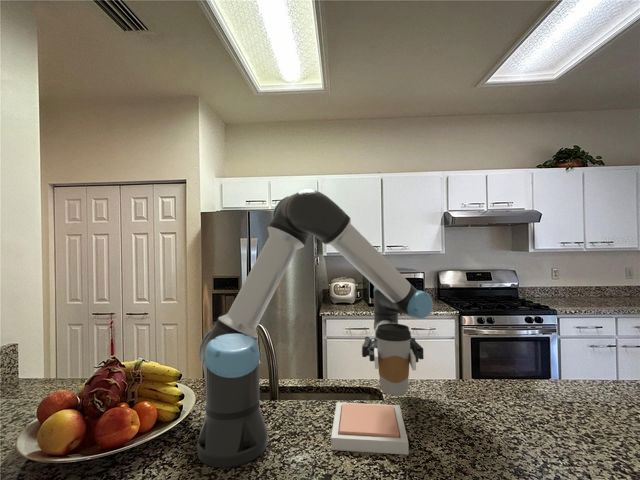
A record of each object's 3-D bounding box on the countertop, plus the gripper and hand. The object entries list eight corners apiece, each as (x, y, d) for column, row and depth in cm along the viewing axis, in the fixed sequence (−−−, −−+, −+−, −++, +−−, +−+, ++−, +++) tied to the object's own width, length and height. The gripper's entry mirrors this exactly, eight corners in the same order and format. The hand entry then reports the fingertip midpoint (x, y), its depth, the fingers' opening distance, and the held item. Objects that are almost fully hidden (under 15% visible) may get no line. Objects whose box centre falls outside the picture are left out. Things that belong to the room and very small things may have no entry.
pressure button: (339, 435, 74) (339, 431, 74) (342, 407, 87) (342, 403, 87) (399, 439, 72) (399, 434, 72) (393, 409, 85) (393, 405, 85)
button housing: (331, 449, 72) (331, 437, 72) (336, 412, 88) (336, 402, 88) (408, 454, 70) (408, 442, 70) (399, 415, 86) (399, 405, 86)
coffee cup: (409, 383, 83) (408, 323, 83) (414, 398, 75) (413, 331, 75) (375, 382, 84) (374, 322, 84) (377, 397, 75) (376, 331, 76)
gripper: (424, 350, 96) (442, 382, 73) (353, 347, 98) (349, 378, 76) (424, 324, 96) (442, 348, 73) (353, 322, 99) (349, 345, 76)
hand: (395, 363), depth 74 cm, fingers closed on coffee cup, 7 cm apart
